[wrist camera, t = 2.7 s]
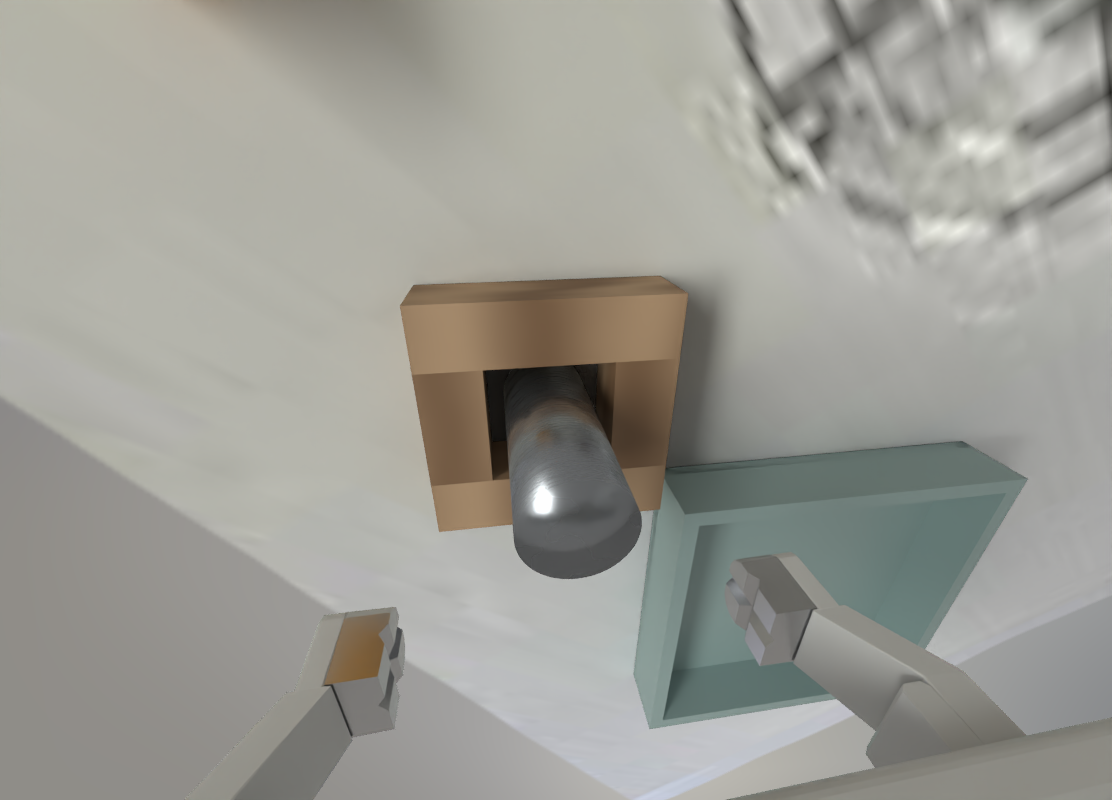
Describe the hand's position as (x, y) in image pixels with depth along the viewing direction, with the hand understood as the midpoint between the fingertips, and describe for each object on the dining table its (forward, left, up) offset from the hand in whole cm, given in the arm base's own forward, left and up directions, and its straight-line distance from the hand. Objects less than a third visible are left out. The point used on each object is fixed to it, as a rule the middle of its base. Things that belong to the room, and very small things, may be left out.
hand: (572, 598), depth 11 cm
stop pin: (-1, 0, -11) cm, 11 cm away
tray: (-16, +14, -11) cm, 23 cm away
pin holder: (-1, 0, -11) cm, 11 cm away
